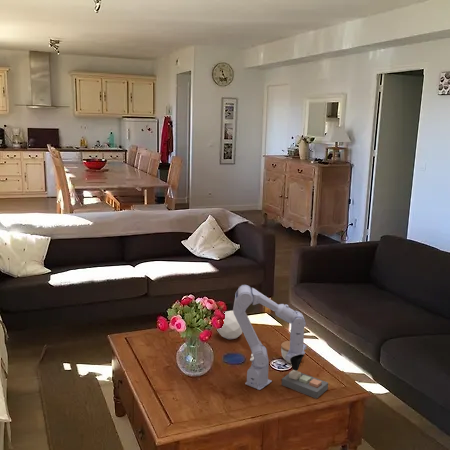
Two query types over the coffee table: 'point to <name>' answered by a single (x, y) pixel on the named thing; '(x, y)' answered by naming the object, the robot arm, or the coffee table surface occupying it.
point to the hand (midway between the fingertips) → (295, 369)
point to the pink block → (315, 383)
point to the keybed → (305, 386)
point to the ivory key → (294, 374)
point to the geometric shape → (230, 326)
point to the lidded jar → (285, 349)
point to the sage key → (304, 379)
